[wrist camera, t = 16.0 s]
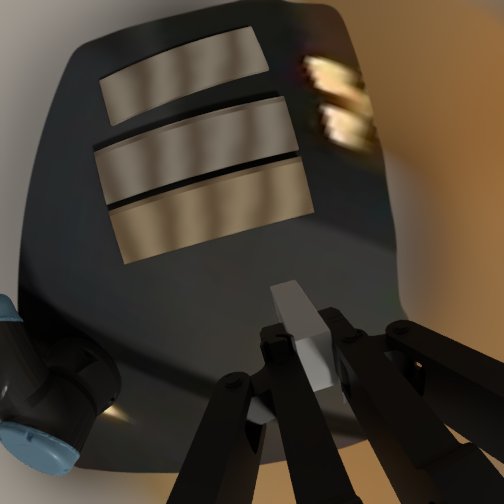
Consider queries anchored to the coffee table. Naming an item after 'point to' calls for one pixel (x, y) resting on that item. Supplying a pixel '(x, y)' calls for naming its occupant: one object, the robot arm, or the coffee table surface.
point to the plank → (182, 73)
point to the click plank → (195, 147)
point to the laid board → (212, 209)
